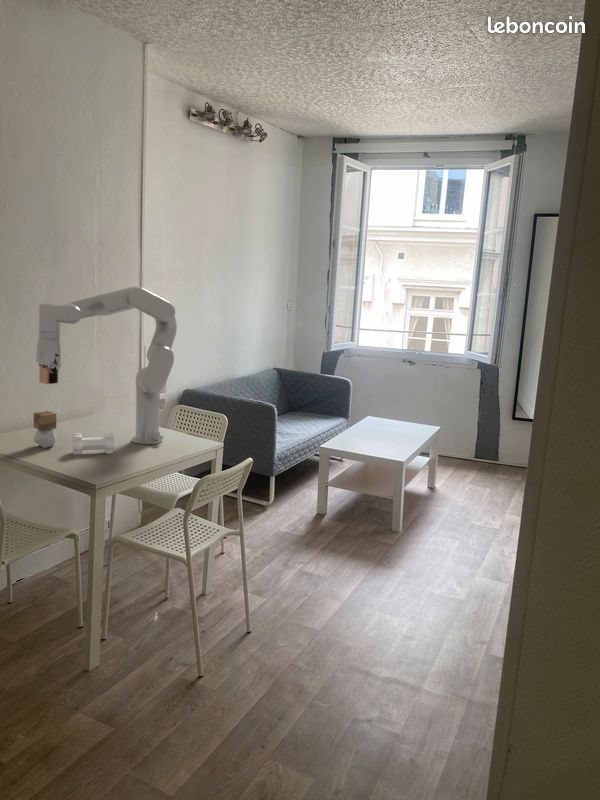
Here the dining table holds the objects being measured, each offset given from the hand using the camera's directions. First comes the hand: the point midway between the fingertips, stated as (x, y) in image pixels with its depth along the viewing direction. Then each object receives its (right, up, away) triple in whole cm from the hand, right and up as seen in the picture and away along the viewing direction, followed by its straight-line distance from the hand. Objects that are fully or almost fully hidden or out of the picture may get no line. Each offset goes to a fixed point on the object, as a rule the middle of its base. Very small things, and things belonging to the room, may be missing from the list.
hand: (48, 381), depth 245 cm
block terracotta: (0, 0, 0) cm, 1 cm away
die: (-2, -26, +3) cm, 26 cm away
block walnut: (-2, -18, +1) cm, 18 cm away
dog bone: (+18, -28, -2) cm, 34 cm away
